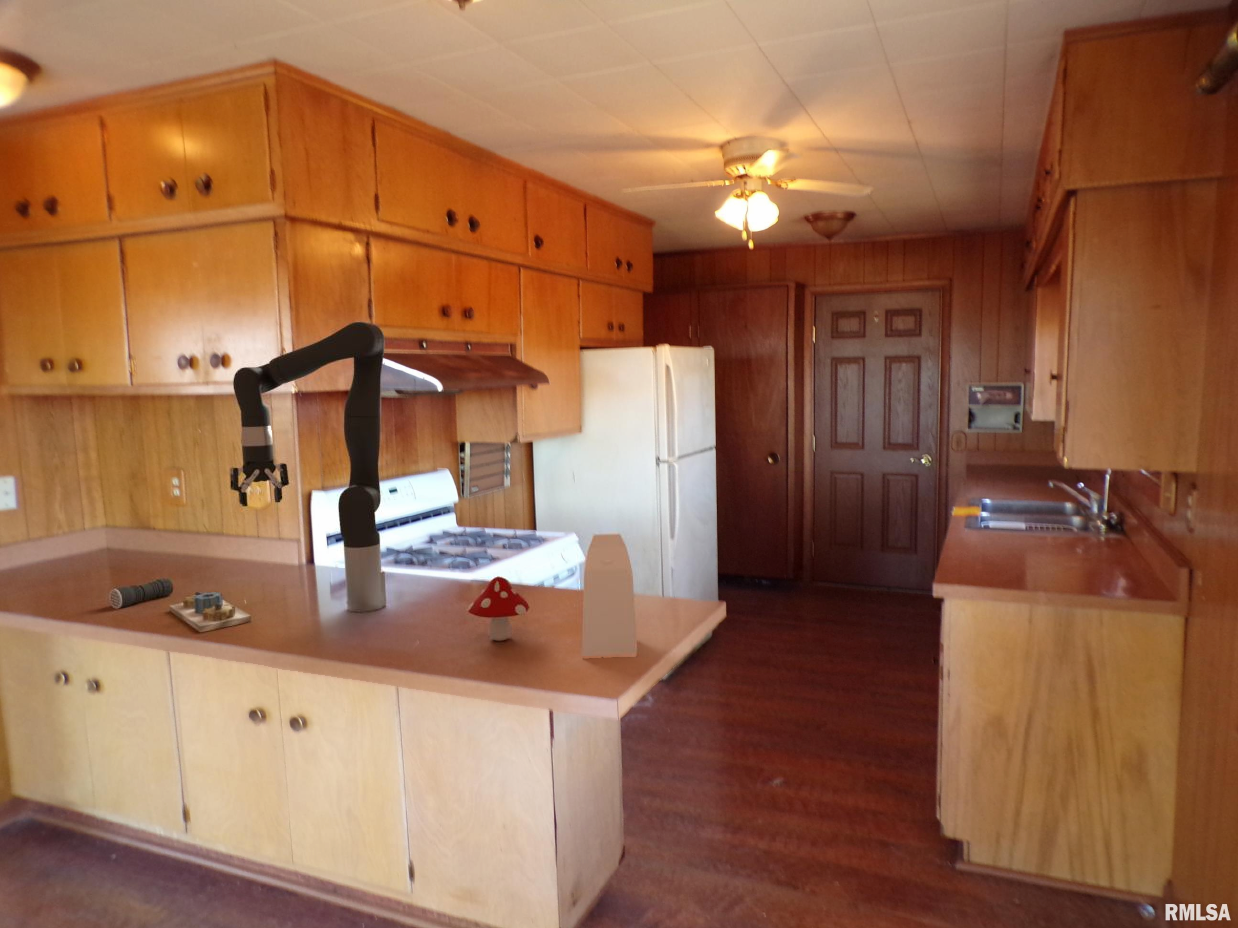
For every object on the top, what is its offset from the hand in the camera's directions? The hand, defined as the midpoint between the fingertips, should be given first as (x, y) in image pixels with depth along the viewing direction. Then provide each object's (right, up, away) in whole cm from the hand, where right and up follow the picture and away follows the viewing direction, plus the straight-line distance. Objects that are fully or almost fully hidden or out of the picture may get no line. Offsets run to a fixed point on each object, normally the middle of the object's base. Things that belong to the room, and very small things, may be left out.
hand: (261, 504), depth 217 cm
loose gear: (-12, -28, -4) cm, 30 cm away
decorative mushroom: (+68, -30, -27) cm, 79 cm away
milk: (+93, -31, -35) cm, 104 cm away
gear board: (-12, -29, -4) cm, 32 cm away
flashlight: (-38, -28, +11) cm, 49 cm away
